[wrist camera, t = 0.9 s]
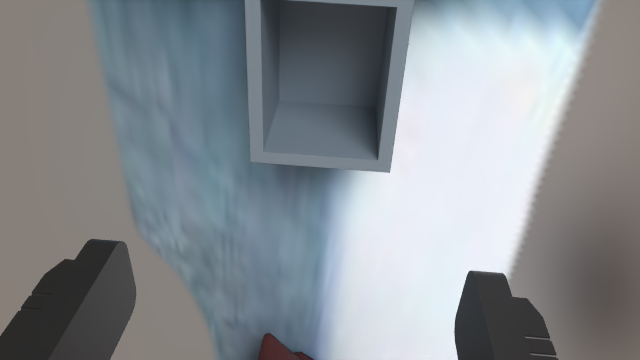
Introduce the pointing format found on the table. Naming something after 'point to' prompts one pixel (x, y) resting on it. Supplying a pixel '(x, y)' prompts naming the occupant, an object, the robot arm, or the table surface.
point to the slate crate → (325, 81)
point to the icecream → (278, 350)
